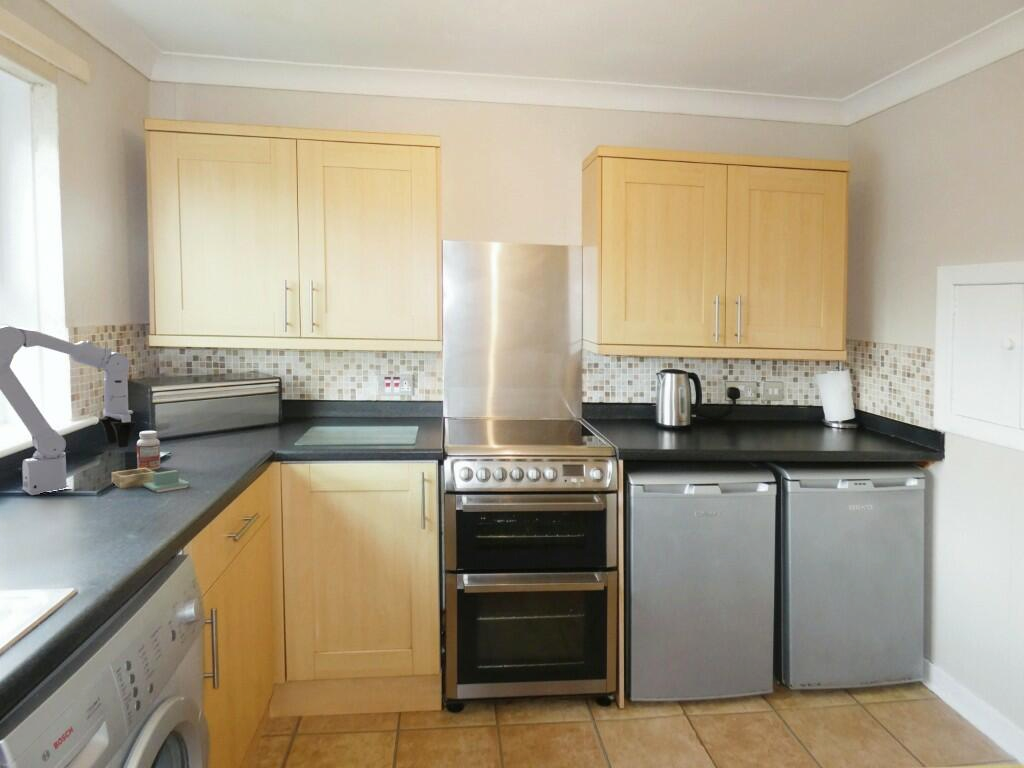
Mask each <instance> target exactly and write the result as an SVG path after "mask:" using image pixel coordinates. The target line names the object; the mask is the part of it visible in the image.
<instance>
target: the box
mask: <svg viewBox="0 0 1024 768" xmlns="http://www.w3.org/2000/svg"><path fill="white" fill-rule="evenodd" d="M153 473H157V471H155V470H150V469H148V468H140V469H138V468H134V469H128V470H127V469H126V470H120V471H119V470H118V471H112V472H111V483H112V482H113V483H114V484H115V485H114V486H115V487H117V488H119V489H121V490H123V489H130V488H135V487H144V486H143V483H148V482H153Z"/></svg>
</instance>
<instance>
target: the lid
mask: <svg viewBox="0 0 1024 768" xmlns="http://www.w3.org/2000/svg"><path fill="white" fill-rule="evenodd" d="M179 473H180V472H179V470H176V469H174V470H168V471H159V472H156V473H153V482H148V483H143V486H142V487H145V488H147V489H149V490H150V491H154V492H155V491H156V490H162V489H168V488H174V487H181V486H190V482H188V481H186V480H184V479H181V478H180V476H179V475H180V474H179Z"/></svg>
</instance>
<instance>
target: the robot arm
mask: <svg viewBox="0 0 1024 768" xmlns="http://www.w3.org/2000/svg"><path fill="white" fill-rule="evenodd" d="M36 346H37V347H38V346H39V347H41V348H44V349H48V350H49V349H50V350H52V351H55V352H60V353H63V354H67V355H70V357H71V358H72V360H73V361H74V362H75V363H78V364H81V365H84V366H89V367H91V368H94V369H97V370H101V369H103V394H104V395H103V398H104V403H103V404H104V408H103V412H102V414H103V417H100V418H98V422H99V423H100V424H101V426H102V428H103V431H104V434H105V437H106V440H107V444H115V443H117V447H118V448H120V449H121V448H127V447H128V445H129V441H130V437H131V434H132V430H134V429H133V428H134V427H135V426H136V421H131V419H132V417H131V414H133V413H134V411H133V410H131V409H130V410H129V389H128V388H129V387H128V384H129V383H128V371H129V368H130V366H131V362H129V359H128V357H127V356H126V355H125V354H123V353H120V352H117V351H116V350H113V349H112V348H110V347H107V348H105V347H102V346H98V345H96V344H94V342H93V341H90V340H86V341H83V340H81V341H79V342H77V343H72V342H70V341H67V340H64V339H62V338H61V339H60V338H57V337H55V336H52V335H49V334H47V333H43V332H41V331H37V330H35V329H29V328H24V327H18V326H16V327H15V326H12V325H9V324H0V391H1V393H2V395H3V396H4V398H6V400H7V401H8V403H9V404H10V406H11V407H12V409H13V410H14V412H15V413H16V414H17V416H18V417H19V418H20V420H21V422H22V423H23V424H24V426H25V427H26V429H27V431H28V432H29V434H30V435H31V440H32V441H31V442H32V443H31V444H32V445H33V447H34V448H35V449H36V450H35V451H34V453H33V455H32V457H30V458H25V459H23V460H22V464H21V465H22V467H21V469H22V471H21V472H22V490H23V491H24V492H26V493H27V494H29V495H30V496H35V495H41V494H40V493H43V492H47V491H53V490H59V489H63V488H66V487H69V486H70V485H69V484H68V483H67V482H68V481H67V460H66V457H67V456H66V452H65V451H66V446H67V442H66V439H65V438H64V437H63V436H62V435H61V434H59V432H58V431H57V430H55V429H53V427H52V426H51V425H50V424H49V422H48V420H47V419H46V418H45V416H44V415H43V414H42V413H41V411H40V409H39V408H38V407H37V405H36V403H35V401H33V399H32V398H31V396H30V395H29V393H28V392H27V390H26V388H25V387H24V385H22V383H21V382H20V380H19V379H18V377H17V375H16V374H15V373H14V371H13V369H12V367H11V363H12V361H13V359H14V357H15V355H16V354H17V353H18V352H19V351H20V349H21V348H23V347H24V348H32V347H36ZM43 494H44V493H43Z"/></svg>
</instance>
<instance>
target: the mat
mask: <svg viewBox="0 0 1024 768" xmlns="http://www.w3.org/2000/svg"><path fill="white" fill-rule="evenodd" d="M187 488H189V485H187V486H181V487H174V488H168V489H162V490H156V491H154V492H156V493H162V492H168V491H174V490H179V489H187Z"/></svg>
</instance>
